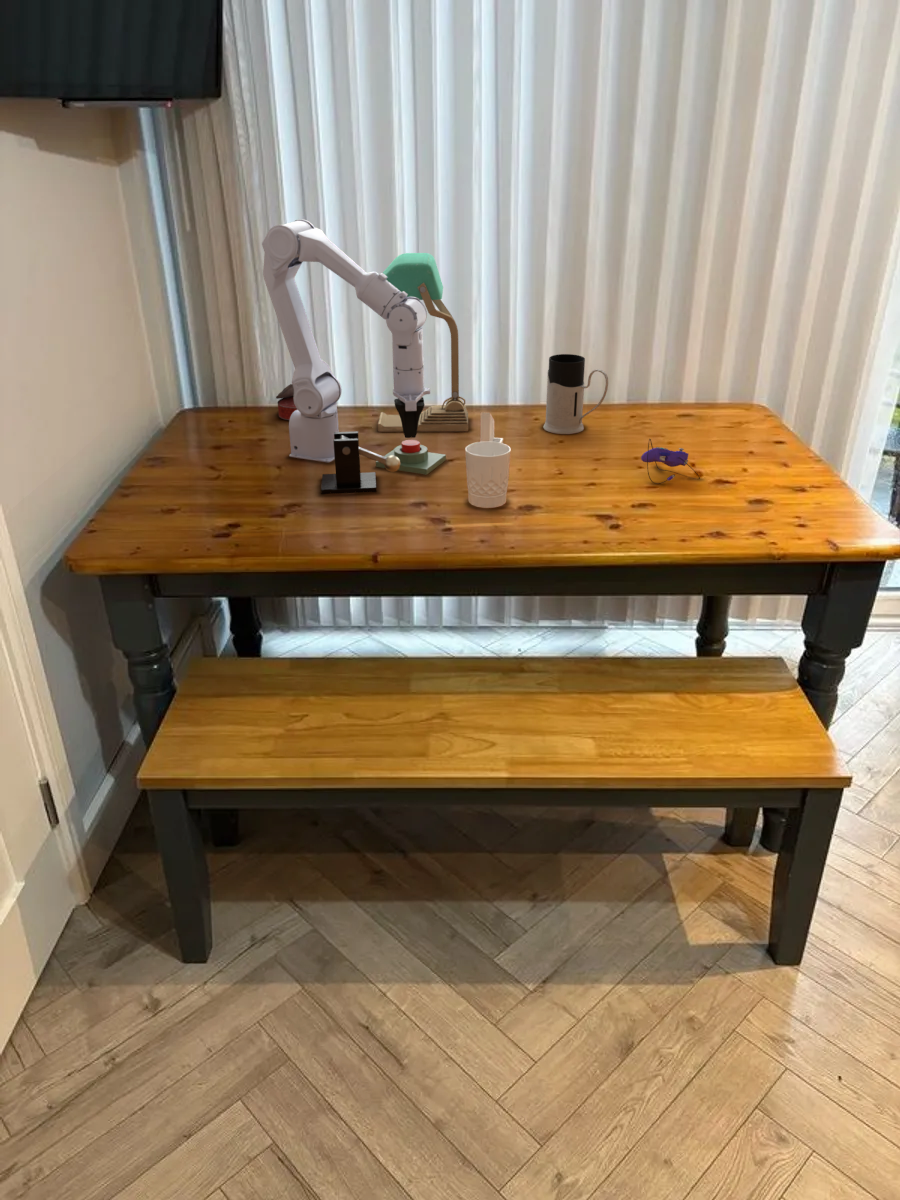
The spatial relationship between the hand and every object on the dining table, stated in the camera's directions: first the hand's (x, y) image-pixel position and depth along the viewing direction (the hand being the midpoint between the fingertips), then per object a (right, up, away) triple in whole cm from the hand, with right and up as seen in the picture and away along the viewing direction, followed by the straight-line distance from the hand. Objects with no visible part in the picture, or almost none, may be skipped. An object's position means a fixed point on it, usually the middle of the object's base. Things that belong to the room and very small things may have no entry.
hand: (410, 436), depth 184 cm
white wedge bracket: (+16, -3, +6) cm, 18 cm away
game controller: (+49, -8, -4) cm, 50 cm away
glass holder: (+35, +5, +21) cm, 41 cm away
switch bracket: (-11, -11, -7) cm, 17 cm away
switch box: (0, -5, +3) cm, 6 cm away
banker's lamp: (+1, +7, +25) cm, 25 cm away
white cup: (+14, -14, -14) cm, 25 cm away
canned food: (-26, +11, +33) cm, 43 cm away
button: (0, -3, +1) cm, 3 cm away
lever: (-8, -6, -9) cm, 14 cm away
